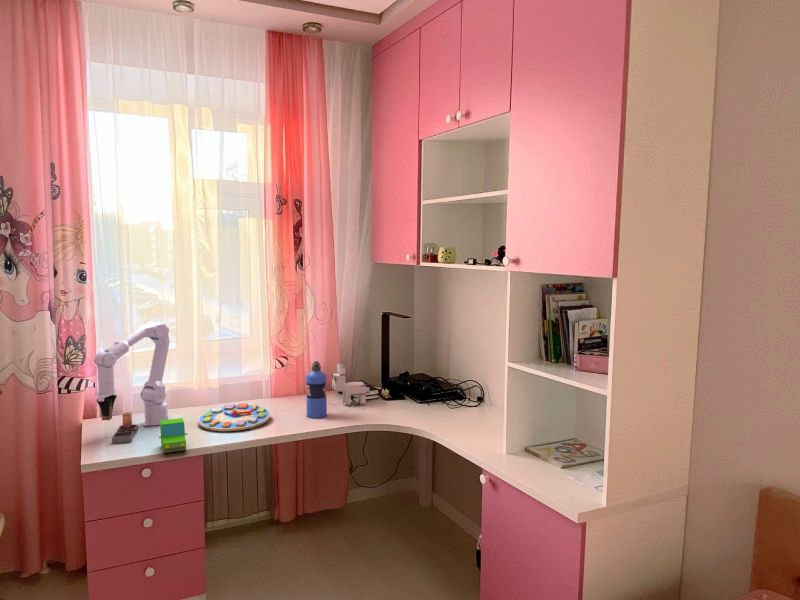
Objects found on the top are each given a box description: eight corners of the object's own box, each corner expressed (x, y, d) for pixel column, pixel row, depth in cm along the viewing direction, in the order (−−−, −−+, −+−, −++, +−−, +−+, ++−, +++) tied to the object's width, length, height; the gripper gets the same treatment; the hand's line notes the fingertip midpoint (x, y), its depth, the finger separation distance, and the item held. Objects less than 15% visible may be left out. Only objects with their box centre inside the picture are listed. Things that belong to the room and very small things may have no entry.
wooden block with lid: (112, 418, 248) (111, 401, 247) (109, 420, 245) (109, 403, 244) (103, 418, 247) (102, 401, 246) (100, 420, 244) (100, 403, 244)
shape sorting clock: (186, 433, 252) (186, 418, 251) (212, 413, 282) (212, 400, 282) (259, 434, 250) (259, 419, 250) (277, 413, 281) (277, 401, 280)
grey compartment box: (138, 429, 255) (137, 410, 254) (131, 442, 239) (130, 421, 238) (120, 431, 253) (119, 411, 253) (111, 443, 237) (111, 423, 236)
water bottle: (325, 412, 282) (324, 359, 280) (328, 417, 273) (327, 363, 271) (305, 413, 279) (304, 360, 277) (307, 419, 270) (306, 364, 268)
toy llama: (370, 404, 296) (370, 363, 294) (335, 407, 291) (334, 365, 289) (367, 400, 303) (367, 361, 301) (332, 403, 298) (332, 363, 297)
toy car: (160, 456, 223) (159, 430, 222) (158, 446, 235) (157, 420, 234) (189, 452, 227) (189, 426, 226) (186, 442, 239) (185, 417, 238)
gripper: (101, 378, 251) (103, 410, 252) (89, 386, 237) (90, 420, 238) (119, 377, 252) (121, 409, 253) (108, 385, 238) (109, 419, 239)
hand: (107, 414), depth 246 cm, fingers closed on wooden block with lid, 3 cm apart
